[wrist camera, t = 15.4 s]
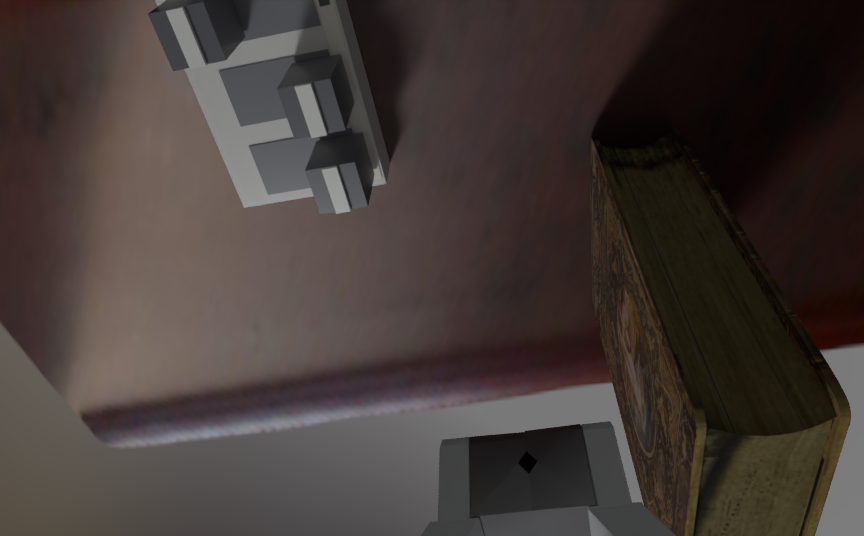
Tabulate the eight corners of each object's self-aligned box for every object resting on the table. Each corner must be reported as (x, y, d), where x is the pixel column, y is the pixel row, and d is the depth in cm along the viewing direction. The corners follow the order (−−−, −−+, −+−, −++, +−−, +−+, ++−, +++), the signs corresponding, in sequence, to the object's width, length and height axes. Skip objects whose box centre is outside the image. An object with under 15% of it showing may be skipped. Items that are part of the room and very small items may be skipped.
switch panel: (327, -71, 38) (317, -61, 35) (390, 162, 47) (386, 184, 44) (164, -34, 39) (144, -21, 37) (254, 186, 48) (243, 209, 45)
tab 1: (225, -18, 37) (201, 3, 33) (245, 36, 38) (224, 62, 35) (174, -7, 37) (146, 15, 34) (196, 46, 39) (171, 72, 35)
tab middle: (340, 53, 39) (329, 80, 35) (354, 102, 40) (345, 132, 37) (291, 63, 39) (275, 90, 36) (307, 111, 41) (293, 141, 37)
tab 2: (362, 132, 42) (353, 164, 38) (374, 174, 43) (367, 208, 40) (316, 140, 42) (304, 172, 39) (330, 182, 44) (319, 216, 40)
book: (661, 309, 54) (785, 629, 33) (592, 316, 54) (672, 634, 34) (673, 119, 44) (856, 405, 24) (589, 129, 45) (697, 418, 25)
